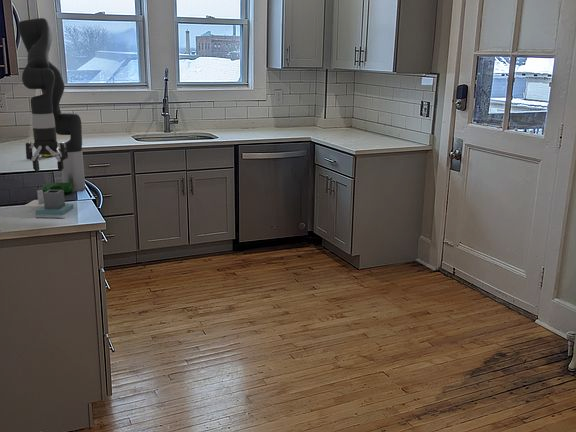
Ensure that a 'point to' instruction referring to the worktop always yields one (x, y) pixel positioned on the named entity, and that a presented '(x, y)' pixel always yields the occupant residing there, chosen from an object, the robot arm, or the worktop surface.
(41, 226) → the worktop surface
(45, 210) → the block
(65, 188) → the clamp
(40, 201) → the rod stand
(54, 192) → the metal collar
